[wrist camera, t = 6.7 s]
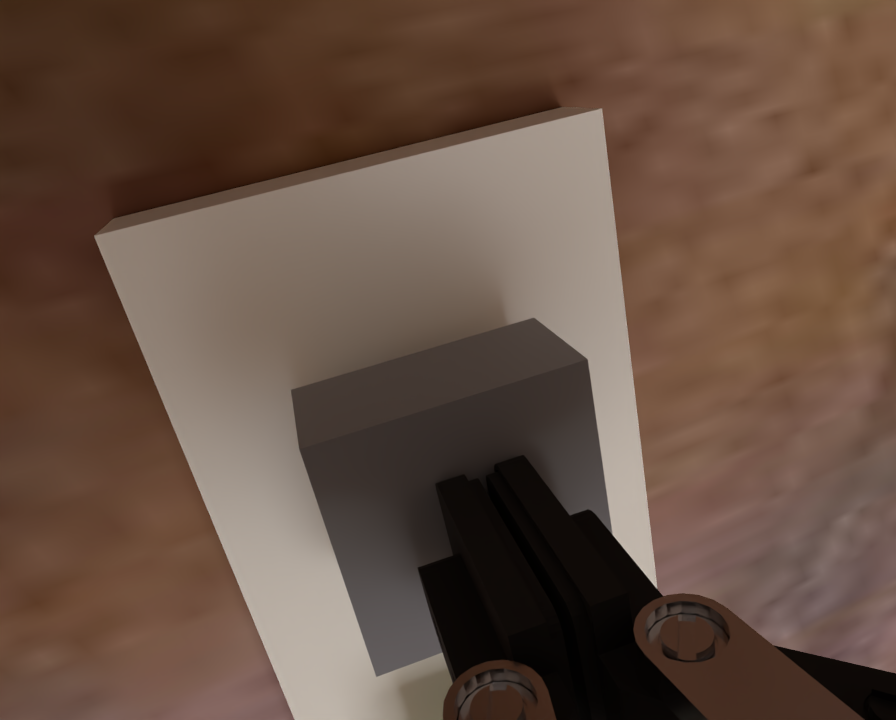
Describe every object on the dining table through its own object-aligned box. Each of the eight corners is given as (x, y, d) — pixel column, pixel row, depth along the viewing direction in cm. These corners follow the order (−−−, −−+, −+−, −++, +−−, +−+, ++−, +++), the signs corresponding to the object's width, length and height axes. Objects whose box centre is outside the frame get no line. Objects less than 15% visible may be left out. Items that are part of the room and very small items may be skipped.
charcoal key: (291, 389, 13) (299, 449, 11) (533, 317, 14) (587, 358, 12) (357, 591, 15) (375, 677, 13) (568, 518, 16) (619, 586, 14)
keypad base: (112, 218, 14) (94, 236, 13) (562, 107, 16) (602, 108, 14) (428, 1007, 26) (441, 1074, 24) (670, 897, 28) (699, 953, 26)
